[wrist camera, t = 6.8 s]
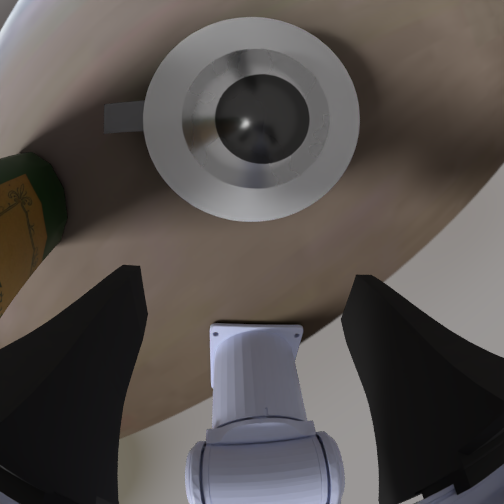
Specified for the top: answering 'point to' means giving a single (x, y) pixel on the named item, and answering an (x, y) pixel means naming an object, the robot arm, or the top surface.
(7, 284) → the bottle
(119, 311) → the robot arm
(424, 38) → the top surface
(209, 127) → the knobbed lid
